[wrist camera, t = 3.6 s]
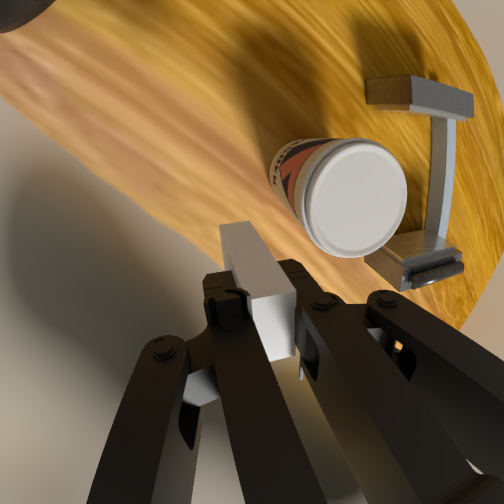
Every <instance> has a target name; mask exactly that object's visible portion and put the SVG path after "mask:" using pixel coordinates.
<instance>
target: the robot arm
mask: <svg viewBox="0 0 504 504" xmlns="http://www.w3.org/2000/svg"><path fill="white" fill-rule="evenodd" d="M54 1H55V0H0V33H6V32H9V31H12V30H15V29H17V28H19V27H21V26H23V25H25V24H26V23H28V22H29V21H31V20H32V19H34V18H35V17H37V16H38V15H39V14H41V13H42V12H43V11H44V10H45V9H47V8H48V7H49V6H50V5H51V4H52V3H53V2H54ZM219 228H220V236H221V244H222V252H223V260H224V267H225V271H223V272H217V273H211V274H207V275H206V276H205V278H204V280H203V282H202V283H203V290H204V297H205V299H204V309H205V313H206V319H207V323H208V325H207V327H206V329H205V330H204V331H203V332H202V333H201V334H200V335H198V336H197V337H195V338H193V339H191V340H188V341H186V342H185V341H184V340H183V339H181V338H179V337H177V336H172V335H166V336H160V337H157V338H155V339H152V340H151V341H150V342H148V343H147V344H146V345H145V347H144V348H143V349H142V351H141V354H140V356H139V359H138V361H137V363H136V366H135V368H134V371H133V373H132V375H131V378H130V380H129V383H128V385H127V388H126V390H125V393H124V395H123V398H122V401H121V403H120V406H119V408H118V411H117V414H116V416H115V419H114V422H113V425H112V427H111V430H110V433H109V436H108V438H107V441H106V444H105V447H104V450H103V453H102V455H101V459H100V461H99V464H98V467H97V470H96V474H95V477H94V480H93V483H92V486H91V490H90V493H89V496H88V500H87V503H86V504H191V498H192V492H193V485H194V478H195V470H196V463H197V456H198V450H199V443H200V436H201V430H202V423H203V416H204V410H205V404H206V403H208V402H210V401H212V400H214V399H217V398H219V397H221V400H222V406H223V410H224V415H225V420H226V424H227V429H228V434H229V438H230V443H231V447H232V452H233V456H234V460H235V465H236V469H237V473H238V477H239V481H240V485H241V489H242V492H243V496H244V500H245V504H327V501H326V499H325V497H324V494H323V492H322V490H321V487H320V485H319V483H318V480H317V478H316V476H315V473H314V471H313V468H312V466H311V464H310V461H309V459H308V456H307V454H306V452H305V449H304V447H303V444H302V442H301V439H300V437H299V435H298V432H297V430H296V427H295V425H294V422H293V420H292V418H291V415H290V412H289V410H288V408H287V405H286V403H285V400H284V397H283V395H282V392H281V390H280V387H279V385H278V382H277V380H276V377H275V374H274V372H273V369H272V367H271V364H270V361H274V360H278V359H283V358H287V357H291V356H294V355H295V346H297V348H298V350H299V352H300V366H299V378H300V380H303V372H304V374H305V376H306V378H307V380H308V382H309V384H310V386H311V388H312V390H313V392H314V394H315V396H316V399H317V401H318V403H319V405H320V407H321V408H322V411H323V413H324V415H325V417H326V419H327V421H328V423H329V425H330V427H331V429H332V431H333V433H334V435H335V437H336V440H337V441H338V443H339V446H340V448H341V450H342V452H343V454H344V456H345V458H346V460H347V462H348V464H349V466H350V468H351V470H352V472H353V474H354V476H355V478H356V480H357V482H358V484H359V486H360V488H361V490H362V492H363V494H364V496H365V498H366V500H367V502H368V504H504V361H502V360H501V359H499V358H498V357H497V356H495V355H494V354H492V353H491V352H489V351H488V350H486V349H485V348H483V347H482V346H480V345H479V344H477V343H476V342H474V341H473V340H471V339H470V338H468V337H467V336H465V335H463V334H462V333H461V332H459V331H458V330H456V329H455V328H453V327H451V326H450V325H448V324H447V323H445V322H444V321H442V320H441V319H439V318H437V317H436V316H434V315H433V314H431V313H429V312H428V311H426V310H425V309H423V308H422V307H420V306H418V305H417V304H415V303H413V302H412V301H410V300H409V299H407V298H405V297H404V296H402V295H400V294H399V293H396V292H394V291H390V290H377V291H374V292H372V293H371V294H370V295H369V296H368V299H367V304H346V303H345V302H344V301H343V300H342V299H341V298H340V297H339V296H337V295H335V294H333V293H330V292H324V291H323V290H322V289H321V287H320V286H319V285H318V284H317V282H316V281H315V280H314V279H313V277H312V276H311V275H310V274H309V272H308V271H306V269H305V267H304V266H303V265H302V264H301V263H299V262H297V261H295V260H294V259H288V260H282V261H276V259H275V258H274V256H273V255H272V253H271V252H270V250H269V249H268V247H267V246H266V244H265V243H264V241H263V240H262V238H261V237H260V235H259V234H258V232H257V231H256V229H255V228H254V226H253V225H252V224H251V222H250V221H244V222H237V223H230V224H224V225H219ZM396 341H398V342H400V343H401V344H402V345H403V347H402V350H399V349H397V348H395V344H396ZM465 458H466V459H467V460H468V461H469V462H470V463H472V464H473V465H474V466H475V467H477V468H478V469H479V470H480V471H481V472H482V473H483V474H479V473H477V472H475V471H474V470H473V469H472V467H471V466H470V464H469V463H468V462H467V460H466V459H465Z"/></svg>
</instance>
